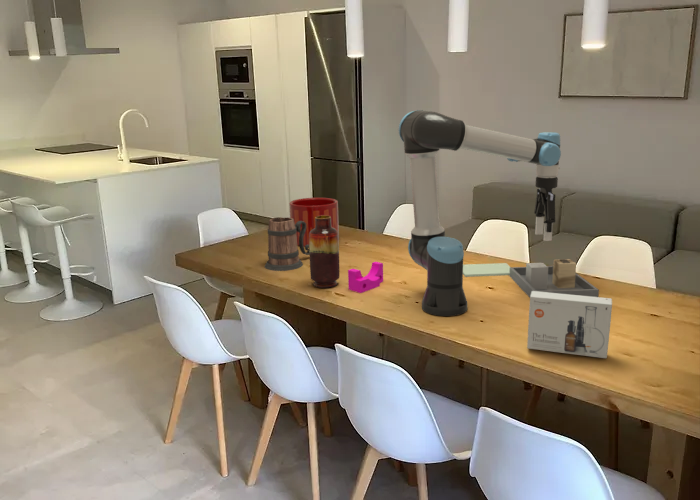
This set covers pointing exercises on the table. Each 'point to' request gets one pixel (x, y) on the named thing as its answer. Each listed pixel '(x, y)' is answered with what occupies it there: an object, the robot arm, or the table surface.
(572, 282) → the maple box
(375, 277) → the toy block
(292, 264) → the tankard
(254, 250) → the table surface
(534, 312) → the skincare box
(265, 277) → the table surface
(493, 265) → the mat
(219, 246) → the table surface
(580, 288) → the parts bin
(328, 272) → the vase
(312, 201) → the planter
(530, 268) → the grey box
